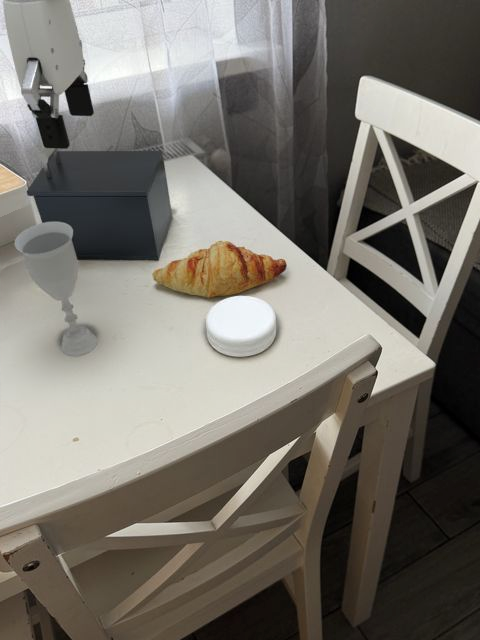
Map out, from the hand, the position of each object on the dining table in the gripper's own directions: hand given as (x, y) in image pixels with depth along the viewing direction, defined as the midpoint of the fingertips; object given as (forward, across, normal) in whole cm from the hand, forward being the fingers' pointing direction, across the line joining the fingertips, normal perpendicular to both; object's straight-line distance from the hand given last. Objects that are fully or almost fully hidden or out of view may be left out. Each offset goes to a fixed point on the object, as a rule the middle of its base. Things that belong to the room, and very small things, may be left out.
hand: (70, 130), depth 77 cm
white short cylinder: (+26, +10, +22) cm, 35 cm away
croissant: (+26, -3, +18) cm, 31 cm away
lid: (+14, -14, -4) cm, 20 cm away
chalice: (+26, +13, -1) cm, 29 cm away
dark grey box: (+26, -14, -3) cm, 30 cm away
